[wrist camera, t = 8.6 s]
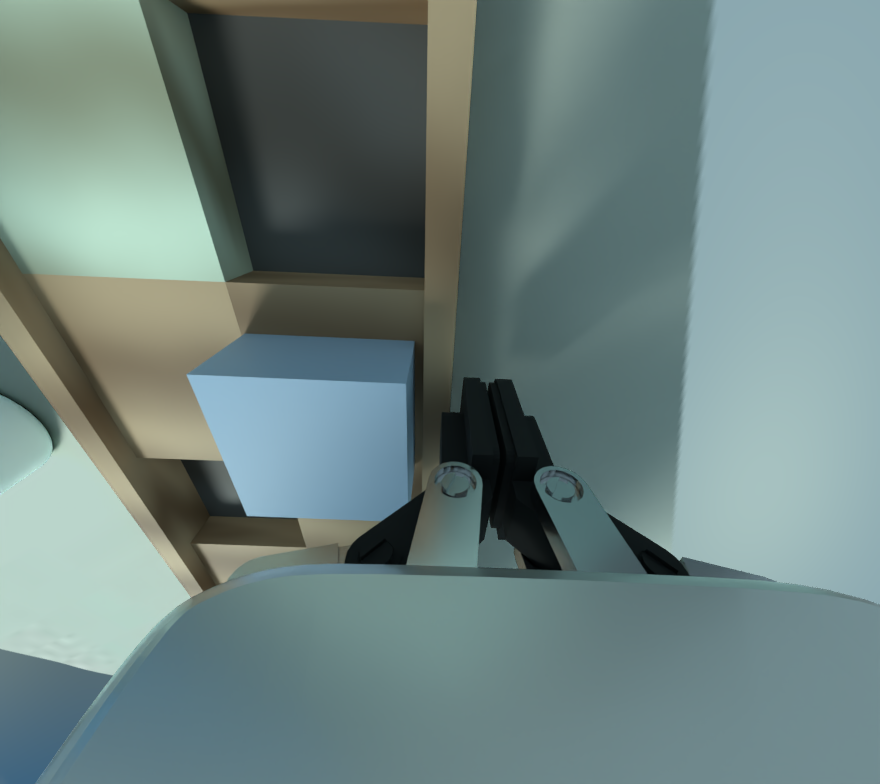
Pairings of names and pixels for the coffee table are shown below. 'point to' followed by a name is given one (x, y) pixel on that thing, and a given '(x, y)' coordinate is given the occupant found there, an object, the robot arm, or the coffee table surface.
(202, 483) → the box
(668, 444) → the coffee table surface
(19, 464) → the drinking glass
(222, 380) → the block
